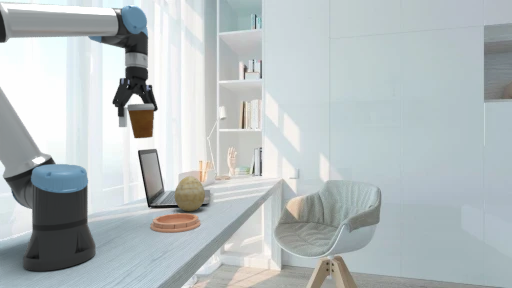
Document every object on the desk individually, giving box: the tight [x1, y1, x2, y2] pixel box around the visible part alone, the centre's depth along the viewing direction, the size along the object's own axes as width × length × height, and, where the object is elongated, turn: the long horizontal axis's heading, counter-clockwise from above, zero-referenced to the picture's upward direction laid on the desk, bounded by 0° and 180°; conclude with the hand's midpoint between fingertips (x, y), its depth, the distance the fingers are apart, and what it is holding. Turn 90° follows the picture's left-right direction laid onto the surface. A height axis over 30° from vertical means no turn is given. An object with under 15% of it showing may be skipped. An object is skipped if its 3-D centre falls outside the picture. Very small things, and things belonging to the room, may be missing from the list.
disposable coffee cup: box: [127, 103, 155, 139], centre depth 107 cm, size 10×10×12 cm
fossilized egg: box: [174, 175, 206, 212], centre depth 127 cm, size 13×13×15 cm
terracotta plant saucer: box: [150, 212, 201, 234], centre depth 105 cm, size 17×17×2 cm
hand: (137, 128), depth 105 cm, fingers open, 13 cm apart
